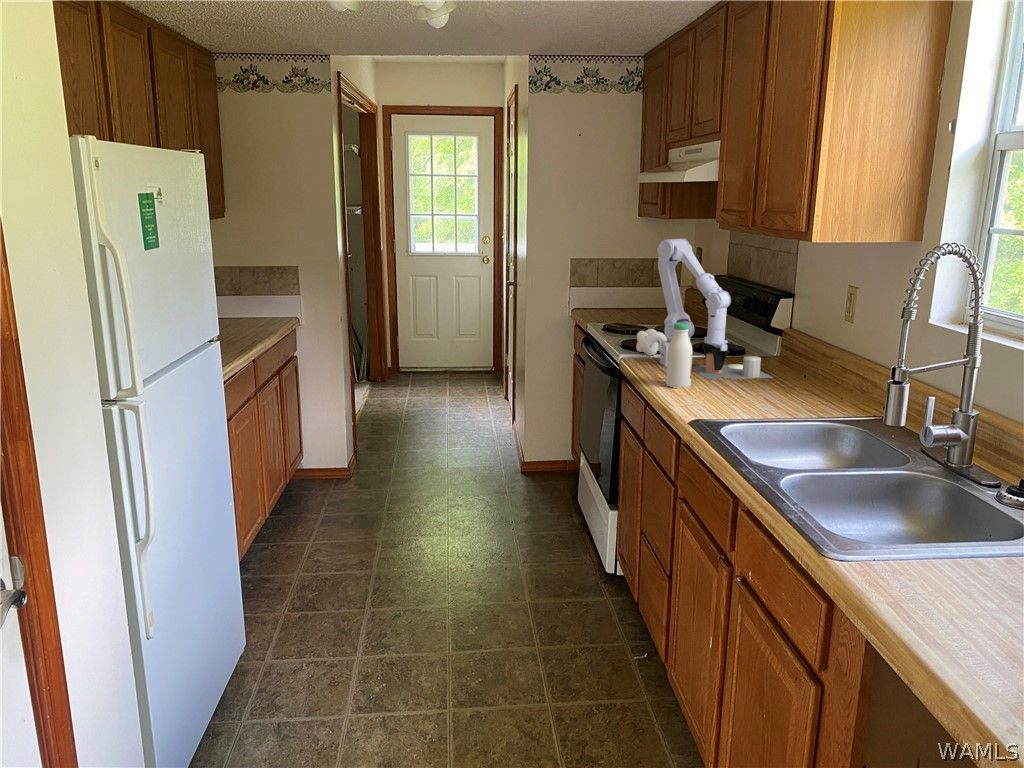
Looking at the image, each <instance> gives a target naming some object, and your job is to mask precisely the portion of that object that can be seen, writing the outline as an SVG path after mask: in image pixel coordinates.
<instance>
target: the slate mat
mask: <svg viewBox="0 0 1024 768" xmlns="http://www.w3.org/2000/svg"><path fill="white" fill-rule="evenodd" d="M705 368H706V365H692V371H694V372H695V373H697V374H698V375H700V376H702V377H703V378H705V379H706V380H708V381H721V380H720V378H721V377H724V378H732V379H731V380H751V379H753V380H755V379H754V378H756V379H774V377H773V376H772V375H769V374H767V373H765V372H763V371H762V370H760V376H759V377H745V376H743V375H742V372H743V363H742V364H739V363H732V364H731V363H730V364H723V367H722V373H718V374H714V373H707V372H705ZM717 379H719V380H717Z"/></svg>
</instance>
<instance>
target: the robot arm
mask: <svg viewBox="0 0 1024 768" xmlns="http://www.w3.org/2000/svg"><path fill="white" fill-rule="evenodd" d="M656 250H657V255H658V261H657V268H658V275H659V278H660V282H661V288H662V291H663V292H662V293H663V297H664V301H665V305H666V306H665V307H666V311H667V316H666V317H665V320H664V321H663V324H664V330H663V331H664V333H663V334H664V335H665V336H666V338H667V341H663V342H662V343H661V350H660V352H659V356H660V357H659V361H658V362H659V363H660V364H661V365H663V366H664V367H665V368H667V354H668V347H669V344H670V342H671V340H672V338H673V335H674V324H675V323H688V324H689V331H688V337H689V340H690V341H691V337H692V336H694V333H695V326H694V323H693V321H692V320H691V317H690V315H689V314H688V313H686V312H685V311H684V306H683V305H684V304H683V300H682V295H681V291H680V287H679V283H678V277H677V273H676V272H677V271H676V266H677V264H678V263H679V262H682V263H683V264H684V265H685V267H686V268H687V269H688V270H689V272H690V273H691V274H692V275H693V276H694V278H695V279H696V280H695V285H696V286H697V288H698V289H699V291H700V292H701V294H702V295H703V296H704V298H705V299H706V300H705V305H706V308H707V313H708V317H707V318H708V319H707V320H708V321H707V334H706V336H704V343H705V344H701V348H702V350H703V353H704V357H705V360H706V355H707V353H713V357H714V368H715V370H722V367H723V365H725V364H724V363H725V361H726V358H727V357H728V355H729V354H730V350H729V349H728V344H727V343H729V340H727V339H725V338H726V325H727V311H728V310H727V308H728V307H729V306H730V305H731V303H732V298H731V295H730V293H729V292H728V291H726V290H723V288H722V286H721V287H720V286H719V284H718V283H717V281H716V279H715V276H714V275H712V274H711V273H709V272H708V273H706V272H705V270H704V268H703V267H702V266H701V263H700V262H699V260H698V258H697V257H696V255H695V254H694V251H693V246H692V245H691V244H690V242H689V240H687V238H683V237H681V238H674V239H673V238H671V239H669V238H664V239H662V240H661V242H660V243H659V245H658V246H657V249H656Z"/></svg>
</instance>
